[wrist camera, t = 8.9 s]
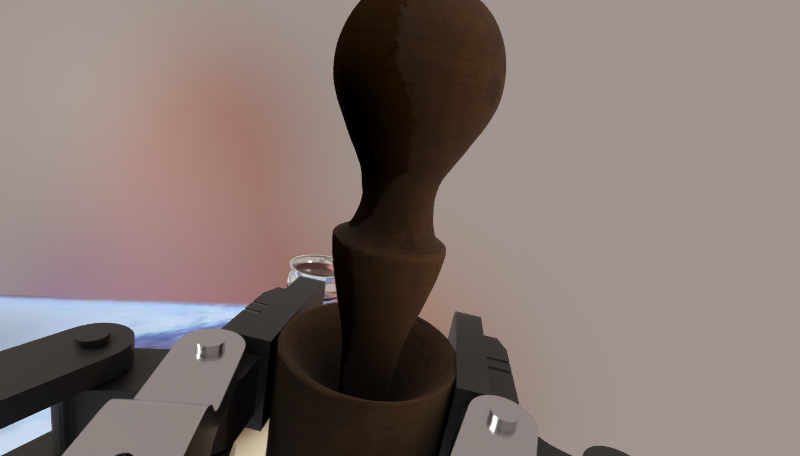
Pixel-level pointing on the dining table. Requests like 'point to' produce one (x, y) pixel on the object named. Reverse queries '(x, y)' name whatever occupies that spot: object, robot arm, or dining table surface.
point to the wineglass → (315, 273)
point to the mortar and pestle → (389, 234)
